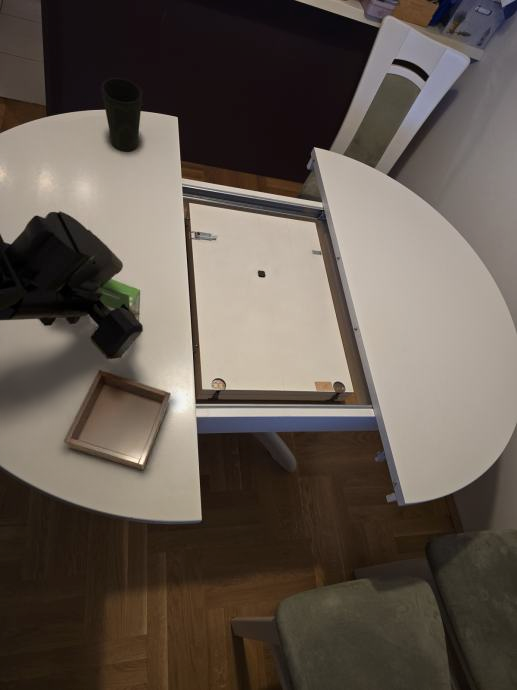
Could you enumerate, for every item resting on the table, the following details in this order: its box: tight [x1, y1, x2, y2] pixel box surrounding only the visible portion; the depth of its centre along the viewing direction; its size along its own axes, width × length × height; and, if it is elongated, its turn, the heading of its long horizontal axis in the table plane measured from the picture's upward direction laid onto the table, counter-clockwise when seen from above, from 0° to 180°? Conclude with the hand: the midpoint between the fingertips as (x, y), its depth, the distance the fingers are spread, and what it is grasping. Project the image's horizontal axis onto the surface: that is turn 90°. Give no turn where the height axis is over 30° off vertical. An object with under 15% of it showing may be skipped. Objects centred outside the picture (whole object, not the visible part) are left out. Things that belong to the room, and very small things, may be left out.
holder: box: [63, 369, 171, 471], centre depth 60 cm, size 11×11×5 cm
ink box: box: [88, 278, 141, 327], centre depth 59 cm, size 7×4×13 cm, turn 74°
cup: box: [101, 77, 143, 153], centre depth 82 cm, size 8×8×12 cm
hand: (121, 297), depth 60 cm, fingers closed on ink box, 8 cm apart
